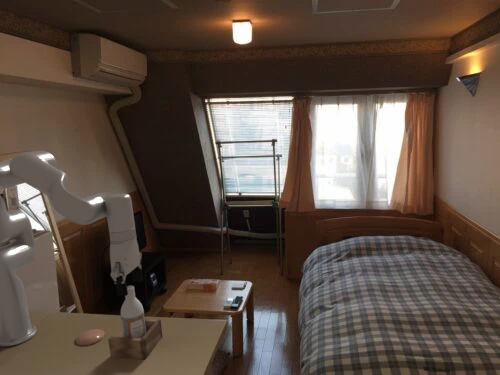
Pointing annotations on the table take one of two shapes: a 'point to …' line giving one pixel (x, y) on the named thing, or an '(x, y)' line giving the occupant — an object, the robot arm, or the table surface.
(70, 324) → the table surface
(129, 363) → the table surface
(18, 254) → the robot arm
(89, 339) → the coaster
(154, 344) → the shelf bay
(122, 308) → the bath foam
